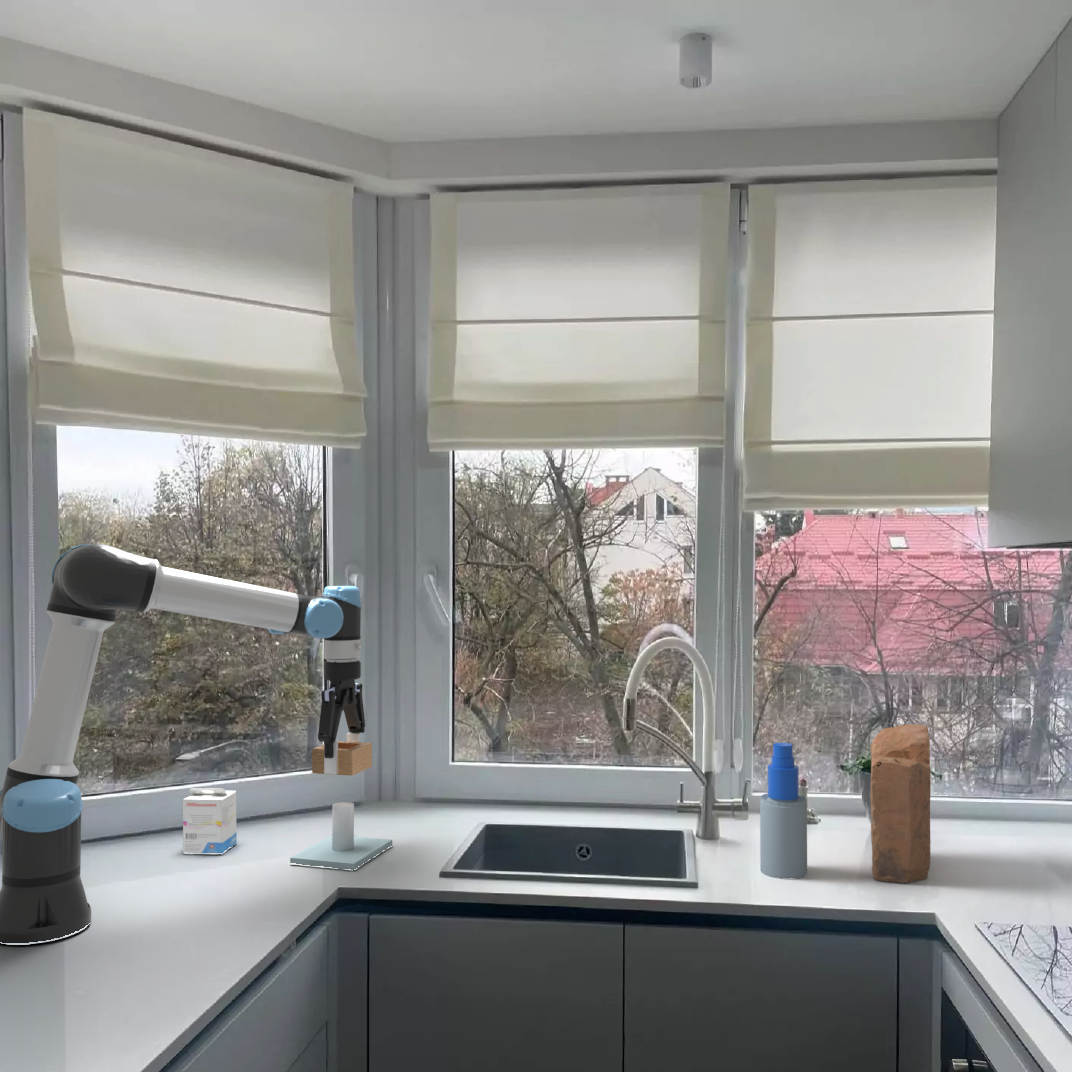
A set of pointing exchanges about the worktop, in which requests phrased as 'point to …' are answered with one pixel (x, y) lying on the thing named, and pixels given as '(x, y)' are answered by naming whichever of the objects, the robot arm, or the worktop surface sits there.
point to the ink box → (209, 820)
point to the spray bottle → (783, 819)
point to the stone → (900, 803)
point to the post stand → (342, 844)
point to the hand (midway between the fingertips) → (342, 768)
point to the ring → (345, 758)
